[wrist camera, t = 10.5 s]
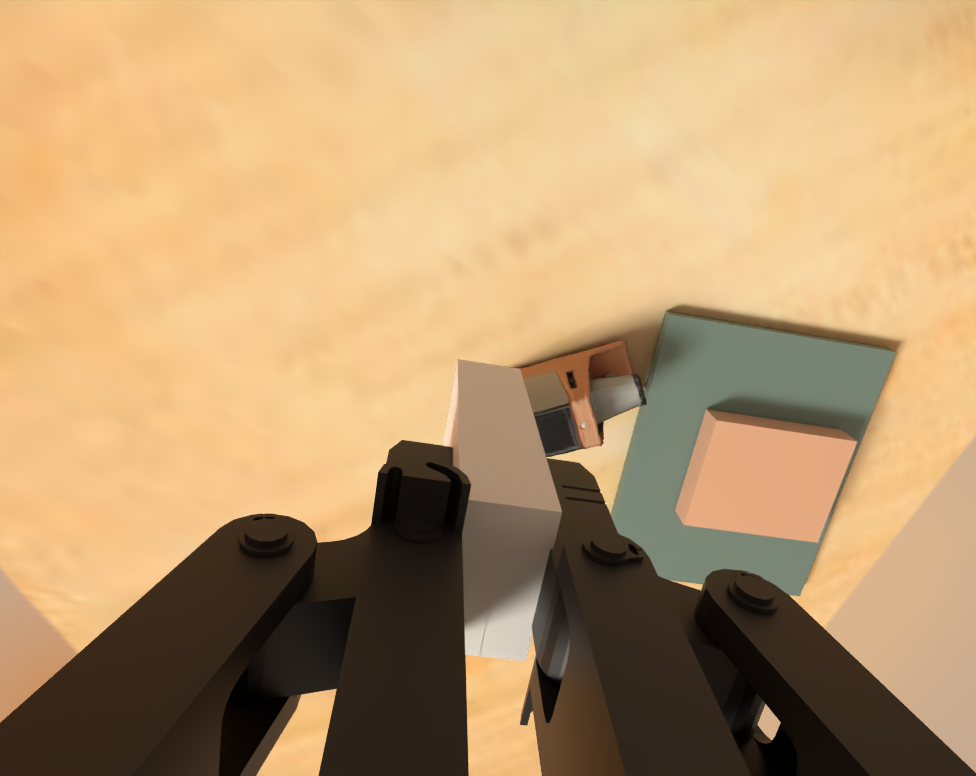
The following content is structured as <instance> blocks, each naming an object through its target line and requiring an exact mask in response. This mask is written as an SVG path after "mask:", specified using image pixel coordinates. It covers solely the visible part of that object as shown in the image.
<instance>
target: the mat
mask: <svg viewBox="0 0 976 776" xmlns="http://www.w3.org/2000/svg"><path fill="white" fill-rule="evenodd" d="M895 354H896V352H895V351H893V350H891V349H889V348H885V347H879V346H873V345H867V344H861V343H855V342H849V341H843V340H837V339H831V338H825V337H819V336H813V335H807V334H801V333H795V332H789V331H783V330H777V329H771V328H765V327H759V326H753V325H747V324H741V323H735V322H729V321H723V320H717V319H711V318H705V317H699V316H693V315H687V314H681V313H675V312H669V311H666V313H665V316H664V320H663V324H662V327H661V331H660V335H659V338H658V342H657V346H656V350H655V353H654V357H653V361H652V364H651V368H650V372H649V375H648V379H647V383H646V386H645V390H644V395H645V398H646V400H647V405H642V406H640V409H639V412H638V416H637V420H636V423H635V427H634V431H633V435H632V438H631V442H630V446H629V449H628V453H627V457H626V460H625V464H624V468H623V471H622V475H621V479H620V483H619V486H618V490H617V494H616V497H615V501H614V505H613V508H612V512H611V517H612V520H613V522H614V524H615V527H616V529H617V532H618V534H620V535H622V536H624V537H627V538H629V539H631V540H632V541H633V542H635V543H636V544H638V545H639V546H640V547H642V548H643V550H644V551H645V552H646V554H647V555H648V556H649V557H650V560H651V562H652V564H653V566H654V568H655V570H656V572H657V575H658V576H659V577H662V578H664V579H667V580H672V581H680V582H688V583H697V584H704V581H705V578H706V577H707V576H708V575H709V574H710V573H711V572H712V571H716V570H721V569H732V570H743V571H747V572H749V573H754V574H756V575H759V576H761V577H762V578H763V579H765V580H767V581H769V582H771V583H773V584H775V585H776V586H777V587H779V588H780V589H781V590H783V591H784V592H785V593H787V594H788V595H794V596H800V594H801V592H802V589H803V587H804V584H805V582H806V579H807V577H808V574H809V572H810V569H811V567H812V564H813V562H814V559H815V556H816V554H817V551H818V549H819V546H820V544H821V541H822V539H823V536H824V534H825V531H826V529H827V526H828V524H829V521H830V519H831V516H832V514H833V511H834V508H835V506H836V503H837V501H838V498H839V496H840V493H841V491H842V488H843V486H844V483H845V481H846V478H847V476H848V473H849V471H850V468H851V466H852V463H853V460H854V458H855V455H856V453H857V450H858V448H859V445H860V443H861V440H862V438H863V435H864V433H865V430H866V428H867V425H868V423H869V420H870V418H871V415H872V412H873V410H874V407H875V405H876V402H877V400H878V397H879V395H880V392H881V390H882V387H883V385H884V382H885V380H886V377H887V375H888V372H889V370H890V367H891V364H892V362H893V359H894V357H895ZM706 409H709V410H715V411H722V412H728V413H735V414H742V415H748V416H755V417H761V418H768V419H775V420H781V421H788V422H794V423H801V424H807V425H814V426H821V427H827V428H834V429H840V430H843V431H844V432H845V433H847V434H848V435H849V436H851V437H852V438H853V439H855V440H856V441H857V444H856V447H855V449H854V452H853V454H852V457H851V459H850V462H849V465H848V467H847V470H846V472H845V475H844V477H843V480H842V482H841V485H840V487H839V490H838V492H837V495H836V498H835V500H834V503H833V505H832V508H831V510H830V513H829V515H828V518H827V520H826V523H825V525H824V528H823V531H822V533H821V536H820V538H819V541H818V543H815V542H808V541H800V540H793V539H785V538H778V537H770V536H763V535H755V534H747V533H740V532H732V531H725V530H717V529H710V528H702V527H695V526H687V525H684V524H683V523H682V521H681V519H680V518H679V516H678V514H677V513H676V511H675V509H676V506H677V502H678V499H679V496H680V493H681V489H682V486H683V483H684V479H685V476H686V473H687V470H688V466H689V463H690V460H691V457H692V453H693V450H694V447H695V444H696V440H697V437H698V434H699V430H700V427H701V424H702V421H703V417H704V414H705V411H706Z"/></svg>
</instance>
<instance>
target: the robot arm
mask: <svg viewBox="0 0 976 776" xmlns="http://www.w3.org/2000/svg"><path fill="white" fill-rule="evenodd" d="M532 634H533V638H534V644H535V651H536V657H535V661H534V665H533V669H532V673H531V677H530V681H529V685H528V689H527V693H526V697H525V701H524V705H523V709H522V714H521V721H520V725H527V724H528V720H529V716H530V713H531V712H532V711H533V713H534V721H535V728H536V735H537V743H538V750H539V757H540V765H541V772H542V776H976V773H975V772H974V771H973V770H972V769H971V768H970V767H969V766H968V765H967V764H966V763H965V762H964V761H962V760H961V759H960V758H959V757H958V756H957V755H956V754H955V753H954V752H953V751H952V750H951V749H950V748H949V747H948V746H947V745H946V744H945V743H943V741H942V740H940V739H939V738H938V737H937V736H936V735H935V734H934V733H933V732H932V731H931V730H930V729H929V728H928V727H927V726H926V725H925V724H924V723H923V722H922V721H920V719H918V718H917V717H916V716H915V715H914V714H913V713H912V712H911V711H910V710H909V709H908V708H907V707H906V706H905V705H904V704H903V703H902V702H900V701H899V700H898V699H897V698H896V697H895V696H894V695H893V694H892V693H891V692H890V691H889V690H888V689H887V688H886V687H885V686H884V685H883V684H882V683H881V682H880V681H879V680H877V679H876V678H875V677H874V676H873V675H872V674H871V673H870V672H869V671H868V670H867V669H866V668H865V667H864V666H863V665H862V664H861V663H860V662H858V661H857V660H856V659H855V658H854V657H853V656H852V655H851V654H850V653H849V652H848V651H847V650H846V649H845V648H844V647H843V646H842V645H841V644H840V643H839V642H837V641H836V640H835V639H834V638H833V637H832V636H831V635H830V634H829V633H828V632H827V631H826V630H825V629H824V628H823V627H822V626H821V625H820V624H819V623H818V622H816V621H815V620H814V619H813V618H812V617H811V616H810V615H809V614H808V613H807V612H806V611H805V610H804V609H803V608H802V607H801V606H800V605H799V604H798V603H797V602H795V601H794V600H793V599H792V598H791V597H790V596H789V595H788V594H787V593H785V592H784V591H783V590H781V589H780V588H779V587H777V586H776V585H775V584H773V583H771V582H769V581H767V580H765V579H763V578H762V577H761V576H759V575H756V574H754V573H749V572H747V571H743V570H732V569H721V570H716V571H712V572H711V573H710V574H709V575H708V576H707V577H706V578H705V581H704V584H703V587H702V590H701V591H700V590H697V589H694V588H691V587H688V586H685V585H682V584H679V583H675V582H672V581H670V580H667V579H664V578H662V577H659V576H658V575H657V572H656V570H655V568H654V566H653V564H652V562H651V560H650V557H649V556H648V555H647V554H646V552H645V551H644V550H643V548H642V547H640V546H639V545H638V544H636V543H635V542H633V541H632V540H631V539H629V538H627V537H624V536H622V535H620V534H618V532H617V529H616V527H615V524H614V522H613V520H612V517H611V515H610V513H609V510H608V508H607V505H605V501H604V498H603V496H602V494H601V493H600V489H599V486H598V484H597V482H596V479H595V477H594V476H593V475H592V474H591V473H590V472H589V471H588V470H587V469H585V468H584V467H583V466H582V465H581V464H580V463H576V462H569V461H562V460H555V459H548V458H546V455H545V452H544V448H543V445H542V442H541V438H540V435H539V431H538V428H537V425H536V421H535V418H534V414H533V411H532V408H531V404H530V401H529V397H528V394H527V390H526V387H525V384H524V380H523V377H522V373H521V370H520V369H518V368H511V367H505V366H498V365H492V364H485V363H479V362H472V361H466V360H459V359H458V360H457V366H456V372H455V378H454V383H453V389H452V395H451V401H450V407H449V413H448V419H447V425H446V431H445V437H444V443H443V446H441V445H434V444H427V443H420V442H412V441H405V440H402V441H400V442H399V443H398V444H396V445H395V446H394V447H393V448H391V449H390V450H389V453H388V458H387V463H386V464H384V465H383V466H382V468H381V469H380V471H379V472H378V479H377V487H376V494H375V501H374V509H373V516H372V523H371V526H370V527H369V528H368V529H367V530H366V531H364V532H363V533H361V534H359V535H357V536H355V537H352V538H348V539H345V540H340V541H333V542H322V543H317V539H316V536H315V533H314V531H313V530H312V529H311V528H310V527H308V526H307V525H306V524H305V523H304V522H301V521H299V520H296V519H294V518H291V517H289V516H282V515H276V514H255V515H249V516H246V517H242V518H238V519H235V520H233V521H231V522H229V523H228V524H226V525H224V526H223V527H221V528H219V529H218V530H217V531H216V532H215V533H214V534H213V535H212V536H210V537H209V538H208V539H207V540H206V541H205V542H204V543H203V544H201V545H200V546H199V547H198V548H197V549H196V550H195V551H194V552H192V553H191V554H190V555H189V556H188V557H187V558H186V559H184V560H183V561H182V562H181V563H180V564H179V565H178V566H177V567H175V568H174V569H173V570H172V571H171V572H170V573H169V574H168V575H166V576H165V577H164V578H163V579H162V580H161V581H160V582H159V583H157V584H156V585H155V586H154V587H153V588H152V589H151V590H150V591H148V592H147V593H146V594H145V595H144V596H143V597H142V598H141V599H139V600H138V601H137V602H136V603H135V604H134V605H133V606H131V607H130V608H129V609H128V610H127V611H126V612H125V613H124V614H122V615H121V616H120V617H119V618H118V619H117V620H116V621H115V622H113V623H112V624H111V625H110V626H109V627H108V628H107V629H106V630H104V631H103V632H102V633H101V634H100V635H99V636H98V637H97V638H95V639H94V640H93V641H92V642H91V643H90V644H89V645H87V646H86V647H85V648H84V649H83V650H82V651H81V652H80V653H78V654H77V655H76V656H75V657H74V658H73V659H72V660H71V661H70V662H68V663H67V664H66V665H65V666H64V667H63V668H62V669H60V670H59V671H58V672H57V673H56V674H55V675H54V676H53V677H51V678H50V679H49V680H48V681H47V682H46V683H45V684H44V685H43V686H41V687H40V688H39V689H38V690H37V691H36V692H34V693H33V694H32V695H31V696H30V697H29V698H28V699H27V700H25V701H24V702H23V703H22V704H21V705H20V706H19V707H18V708H17V709H15V710H14V711H13V712H12V713H11V714H10V715H9V716H7V717H6V718H5V719H4V720H3V721H2V722H1V723H0V776H256V775H257V773H258V771H259V770H260V768H261V766H262V765H263V763H264V761H265V760H266V758H267V756H268V755H269V753H270V751H271V750H272V748H273V746H274V745H275V743H276V742H277V740H278V738H279V737H280V735H281V733H282V732H283V730H284V728H285V727H286V725H287V723H288V722H289V720H290V718H291V717H292V715H293V713H294V712H295V710H296V708H297V706H298V703H299V700H300V697H301V694H307V693H313V692H319V691H325V690H331V689H337V691H336V695H335V700H334V705H333V710H332V715H331V719H330V724H329V729H328V734H327V738H326V743H325V748H324V753H323V758H322V762H321V767H320V772H319V776H468V738H467V701H466V664H465V655H472V656H482V657H491V658H500V659H510V660H519V661H526V659H527V655H528V651H529V647H530V642H531V638H532ZM765 704H766V705H767V706H768V707H769V708H770V710H771V711H772V712H773V713H774V715H775V716H776V717H777V718H778V719H779V721H780V722H781V724H780V726H779V728H778V731H777V733H776V736H775V737H774V739H773V740H770V739H769V738H768V737H767V736H766V735H765V734H764V733H763V732H762V730H761V729H760V728H759V726H758V725H757V724H758V721H759V719H760V716H761V714H762V711H763V709H764V706H765Z"/></svg>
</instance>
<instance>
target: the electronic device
mask: <svg viewBox="0 0 976 776" xmlns="http://www.w3.org/2000/svg"><path fill="white" fill-rule="evenodd" d="M518 369H520V370H521V373H522V377H523V380H524V384H525V387H526V390H527V394H528V397H529V401H530V404H531V408H532V411H533V414H534V418H535V421H536V425H537V428H538V431H539V435H540V438H541V442H542V445H543V448H544V452H545V455H546V457H552V456H555V455H559V454H564V453H569V452H572V451H575V450H579V449H586V448H590V447H594V446H602V444H603V439H604V436H603V435H604V433H603V421H605V420H608V419H610V418H612V417H614V416H616V415H618V414H621V413H623V412H625V411H628V410H630V409H633V408H635V407H639V406H642V405H647V400H646V398H645V395H644V390H643V388H642V385H641V379H640V377H639V376H638V375H637V374H633V372H632V368H631V364H630V360H629V356H628V351H627V347H626V342H625V341H623V340H620V341H617V342H615V343H609V344H607V345H604V346H600V347H596V348H593V349H589V350H586V351H582V352H578V353H575V354H571V355H567V356H563V357H557V358H554V359H552V360H548V361H544V362H541V363H538V364H535V365H532V366H529V367H525V368H518Z"/></svg>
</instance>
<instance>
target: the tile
mask: <svg viewBox="0 0 976 776" xmlns="http://www.w3.org/2000/svg"><path fill="white" fill-rule="evenodd" d="M856 444H857V441H856V440H855V439H853V438H852V437H851V436H849V435H848V434H847V433H845V432H844V431H843V430H840V429H834V428H827V427H821V426H814V425H807V424H801V423H794V422H788V421H781V420H775V419H768V418H761V417H755V416H748V415H742V414H735V413H728V412H722V411H715V410H709V409H706V411H705V414H704V417H703V421H702V424H701V427H700V430H699V434H698V437H697V440H696V444H695V447H694V450H693V453H692V457H691V460H690V463H689V466H688V470H687V473H686V476H685V479H684V483H683V486H682V489H681V493H680V496H679V499H678V502H677V506H676V509H675V511H676V513H677V514H678V516H679V518H680V519H681V521H682V523H683V524H684V525H687V526H695V527H702V528H710V529H717V530H725V531H732V532H740V533H747V534H755V535H763V536H770V537H778V538H785V539H793V540H800V541H808V542H815V543H818V541H819V538H820V536H821V533H822V531H823V528H824V525H825V523H826V520H827V518H828V515H829V513H830V510H831V508H832V505H833V503H834V500H835V498H836V495H837V492H838V490H839V487H840V485H841V482H842V480H843V477H844V475H845V472H846V470H847V467H848V465H849V462H850V459H851V457H852V454H853V452H854V449H855V447H856Z"/></svg>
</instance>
